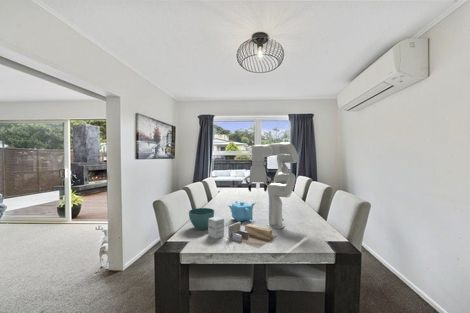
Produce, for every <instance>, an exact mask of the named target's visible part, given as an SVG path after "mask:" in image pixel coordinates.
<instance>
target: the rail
mask: <svg viewBox="0 0 470 313" xmlns="http://www.w3.org/2000/svg"><path fill="white" fill-rule="evenodd" d="M244 230H245V231H246V232H248V234H250V235H253V236H257V237H261V238H265V239H268V240H270V239H271V238H273V228H272V229H271V228H267V227H263V226H258V225H254V224H250V223H248V224H245V225H244Z"/></svg>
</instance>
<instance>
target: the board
mask: <svg viewBox="0 0 470 313" xmlns="http://www.w3.org/2000/svg"><path fill="white" fill-rule="evenodd" d="M243 231H245V229H244V230H243ZM272 235H273V234H272ZM248 236H249V238H245V237H242V241H241V242H238V241H235V240H233V241H234V242H238V243H241V244H243V245H244V244H245V245H248V246H250V247H255V248H257V249H260V248H262V247H263V246H264V245H267V244H268V243H269V242H271V241H273V240H274V239H276V238H277V237H278V235H273V238H271V239H270V240H268V239H265V238H261V237H257V236H253V235H250V234H248ZM226 239H228V237H227V238H226ZM228 240H231V239H228ZM231 241H232V240H231Z"/></svg>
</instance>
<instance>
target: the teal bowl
mask: <svg viewBox="0 0 470 313" xmlns="http://www.w3.org/2000/svg"><path fill="white" fill-rule="evenodd" d="M188 216H189V220H190V223H191V225H192V226H193V227H194V228H195V229H196V230H199V231H201V230H202V231H203V230H204V231H205V230H206V229H208V219H209V218H212V217H215V209H213V208H209V207H208V208H207V207H199V208H193V209H190V210H188Z"/></svg>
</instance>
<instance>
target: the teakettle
mask: <svg viewBox="0 0 470 313" xmlns="http://www.w3.org/2000/svg"><path fill="white" fill-rule="evenodd" d="M255 205H256V202H253V203H251V204H249V203H247V202H244V201H240V202H238V201H237V200H235V202H234V203H231V205H227V208H229V209H230V212H231V217H232V218H233V219H234V221H237V222H240V224H242V222H245V221H246V222H248V223H249V222H250V221H252V220H253V208H254V206H255Z"/></svg>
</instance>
